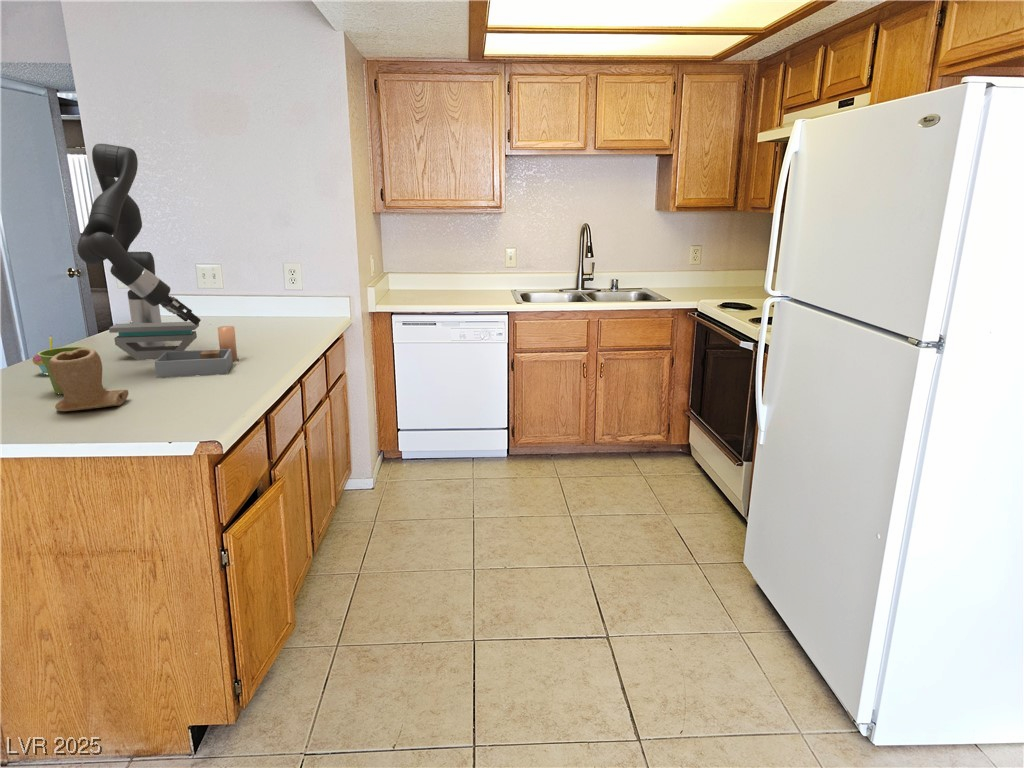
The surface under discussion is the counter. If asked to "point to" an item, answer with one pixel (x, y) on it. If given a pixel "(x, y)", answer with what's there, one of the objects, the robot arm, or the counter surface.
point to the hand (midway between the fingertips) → (193, 320)
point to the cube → (210, 354)
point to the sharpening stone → (153, 337)
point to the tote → (192, 364)
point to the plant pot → (46, 357)
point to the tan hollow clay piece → (82, 381)
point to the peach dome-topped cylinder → (228, 339)
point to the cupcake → (38, 360)
